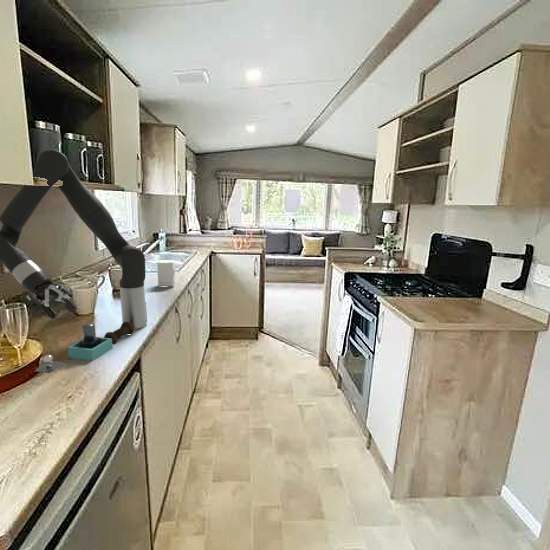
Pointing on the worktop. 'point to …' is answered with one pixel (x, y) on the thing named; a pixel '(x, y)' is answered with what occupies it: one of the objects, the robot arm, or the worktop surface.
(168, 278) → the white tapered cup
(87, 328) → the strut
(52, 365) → the stud plate
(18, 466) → the worktop surface
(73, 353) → the bin
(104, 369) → the worktop surface
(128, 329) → the brown bone toy
